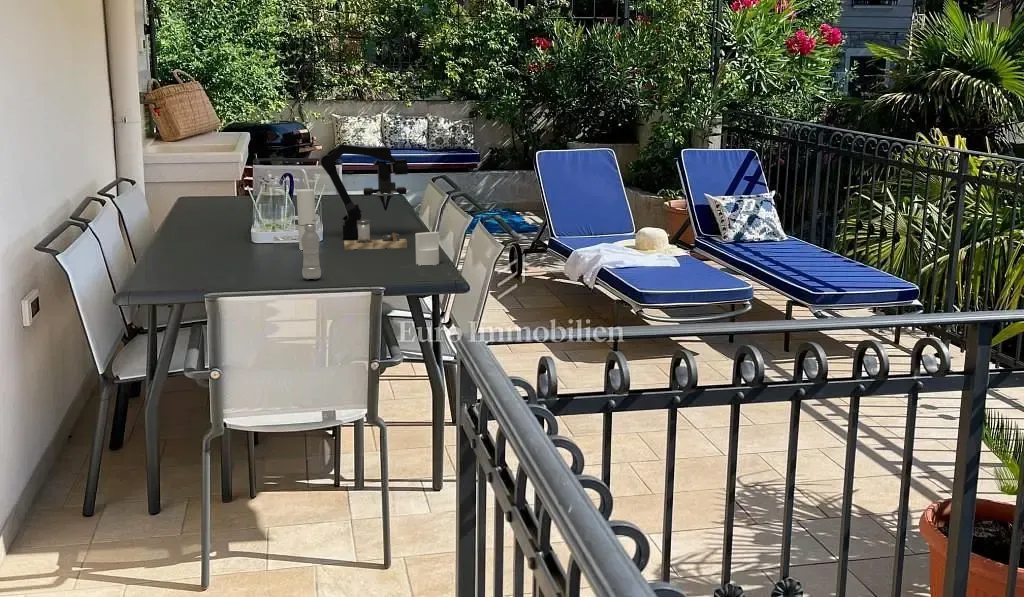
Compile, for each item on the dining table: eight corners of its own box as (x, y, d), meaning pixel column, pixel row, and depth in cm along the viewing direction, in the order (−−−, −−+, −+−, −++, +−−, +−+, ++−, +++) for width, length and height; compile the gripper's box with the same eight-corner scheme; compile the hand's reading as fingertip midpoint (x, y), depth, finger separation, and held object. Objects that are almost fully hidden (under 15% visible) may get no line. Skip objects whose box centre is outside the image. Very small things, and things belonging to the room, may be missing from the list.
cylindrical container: (320, 249, 424) (317, 189, 418) (310, 252, 417) (307, 191, 412) (306, 247, 427) (303, 188, 421) (295, 250, 420) (292, 190, 415)
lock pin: (382, 241, 427) (382, 235, 426) (382, 240, 429) (382, 234, 429) (399, 240, 428) (399, 234, 428) (399, 239, 431) (398, 233, 430)
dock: (344, 249, 422) (344, 236, 421) (344, 246, 430) (343, 233, 428) (407, 247, 427) (406, 234, 425) (405, 244, 434) (405, 231, 433)
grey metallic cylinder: (358, 248, 424) (357, 221, 422) (357, 246, 430) (356, 219, 427) (371, 248, 425) (370, 221, 423) (370, 246, 431) (369, 219, 428)
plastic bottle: (303, 277, 368) (300, 223, 363) (322, 277, 368) (320, 223, 364) (301, 281, 362) (298, 226, 357) (320, 281, 362) (318, 225, 357)
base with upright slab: (421, 266, 388) (420, 235, 385) (412, 262, 396) (411, 232, 393) (442, 264, 392) (442, 233, 389) (433, 260, 400) (433, 230, 397)
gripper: (363, 177, 437) (365, 213, 441) (407, 176, 441) (408, 212, 444) (362, 175, 448) (364, 210, 451) (405, 174, 451) (405, 208, 455)
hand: (385, 210), depth 450 cm, fingers closed
